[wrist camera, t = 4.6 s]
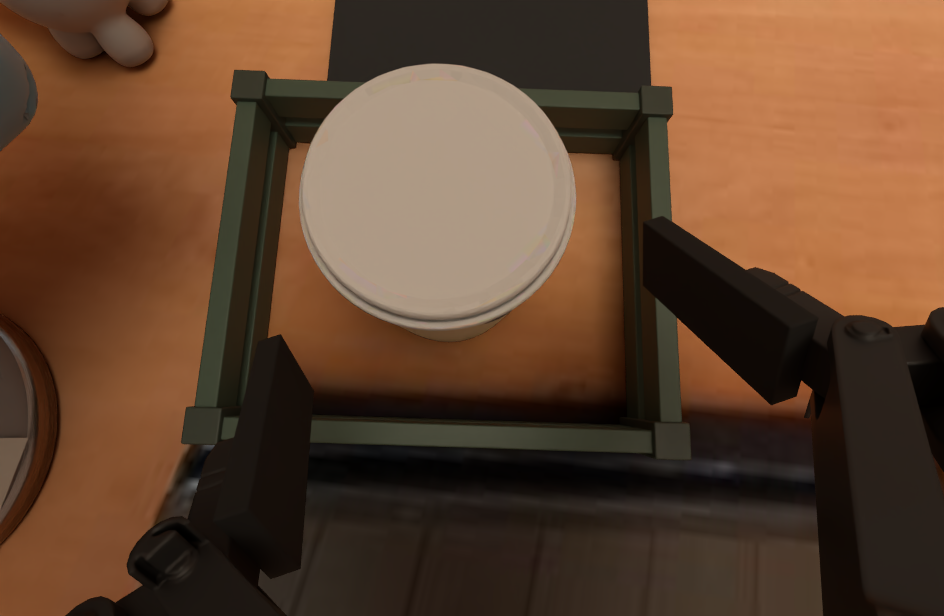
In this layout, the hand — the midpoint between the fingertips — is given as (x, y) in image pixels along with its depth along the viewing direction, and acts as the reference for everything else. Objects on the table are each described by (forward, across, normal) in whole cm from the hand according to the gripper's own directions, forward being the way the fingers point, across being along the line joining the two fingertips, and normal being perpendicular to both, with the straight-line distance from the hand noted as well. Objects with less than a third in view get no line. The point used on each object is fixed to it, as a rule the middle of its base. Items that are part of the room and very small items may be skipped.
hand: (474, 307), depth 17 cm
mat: (+20, +7, +6) cm, 22 cm away
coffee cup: (+10, 0, -4) cm, 11 cm away
